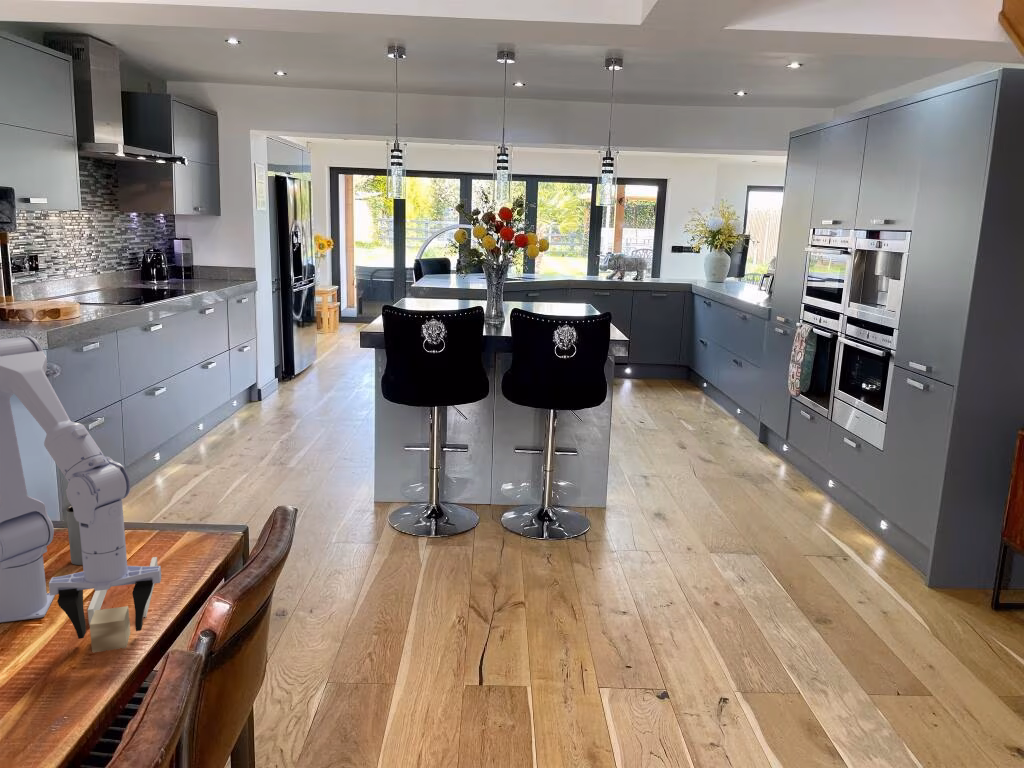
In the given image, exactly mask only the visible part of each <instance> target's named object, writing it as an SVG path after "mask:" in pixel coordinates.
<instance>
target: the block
mask: <svg viewBox="0 0 1024 768" xmlns="http://www.w3.org/2000/svg"><path fill="white" fill-rule="evenodd" d="M130 621H131V620H130V610H129V606H128V605H127V606H120V607H119V606H118V607H111V608H103V609H102V608H100V610H95V612H94V615H93V617H92V620H91V623H90V624H89V631H90V642H91V643H90V644H91V652H93V653H99V652H107V651H114V649H115V650H121V649H120V648H122V649H127V648H126V647H128V643H129V641H130V637H129V636H131V623H130ZM106 650H107V651H106Z"/></svg>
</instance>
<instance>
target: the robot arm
mask: <svg viewBox="0 0 1024 768" xmlns="http://www.w3.org/2000/svg"><path fill="white" fill-rule="evenodd" d="M47 366H48V357H47V356H46V354H45V352H44V349H43V347H42V345H41V344H40V343H39V342H38V340H37V339H36V338H34V337H33V336H31V335H22V336H19V337H12V338H11V337H10V338H4V339H3V338H2V339H0V623H7V622H15V621H22V620H25V621H26V620H30V619H31V620H32V619H39V618H43V617H45V616H46V614H47V613H48V610H49V608H50V607H51V604H52V602H53V601H54V599H55V596H57V595H58V599H57V605H58V606H59V608H61V610H62V611H63V612H64V613H65V614H66V615H67V617H68V618H69V620H70V621H71V624H72V625H73V628H74V629H75V632H76V635H77V639H84V638H85V636H86V632H87V623H86V618H85V611H84V610H85V609H84V590H94V592H95V591H99V590H107V589H108V590H110V589H111V587H119V586H127V585H129V586H130V585H134V587H133V589H132V599H133V604H134V605H133V606H134V613H135V614H134V616H135V617H134V618H135V622H134V623H135V632H140V631H142V629H143V625H144V622H143V621H144V618H143V614H144V608H145V605H146V603H147V600H148V598H149V596H150V593H151V590H152V587H153V584H154V585H155V584H160V583H161V580H162V568H161V565H158V566H150V565H149V566H145V565H143V566H139V565H128V560H127V559H128V558H127V545H126V533H125V522H124V521H125V520H124V508H123V507H124V505H123V500H124V499H125V498H127V497H128V496H129V494H130V491H131V479H130V476H129V474H128V472H127V471H126V469H125V468H126V467H124V465H122V464H121V463H120V462H118V461H114V460H113V459H112V457H111V456H105V454H104V453H103V452H102V450H101V448H100V447H99V446H98V444H97V443H96V441H95V439H94V438H93V437H92V435H91V434H90V433H89V431H88V429H87V428H86V426H85V425H84V424H83V423H80V422H76V421H75V422H74V421H71V419H70V417H69V415H68V413H67V412H66V409H65V407H64V406H63V404H62V402H61V401H60V398H59V397H58V395H57V393H56V391H55V389H54V387H53V386H52V384H51V381H50V380H49V378H48V376H47V374H46V373H47V368H48V367H47ZM13 395H15V396H16V397H17V398H18V400H19V401H20V402H21V404H22V405H23V406H24V407H25V409H26V410H28V412H29V413H30V415H32V417H33V418H34V419H35V421H36V422H37V423H38V425H39V426H40V427H41V428H42V430H44V432H45V433H46V435H45V437H44V442H43V445H44V448H45V449H46V450H47V452H48V454H49V455H50V457H51V458H52V459H53V461H54V463H55V464H56V465H57V467H58V470H60V471H61V473H62V474H63V477H64V478H65V479H66V481H67V482H68V483H67V488H66V489H65V494H66V498H67V500H68V503H70V506H72V508H73V511H74V517H75V518H76V521H78V522H79V528H80V539H81V549H82V561H83V565H82V569H83V571H79V572H74V573H71V574H65V575H60V576H55V577H54V576H52V577H51V578H50V580H49V582H48V590H49V592H48V593H47V583H46V573H45V566H44V565H45V564H44V554H45V553H48V548H47V546H49V545H50V544H51V543H52V541H53V540H54V534H55V529H54V525H53V522H52V520H51V518H50V517H49V515H48V511H47V509H46V504H45V503H44V502H43V501H41V500H39V499H37V498H34V497H32V496H29V495H28V491H27V485H26V480H25V474H24V470H23V465H22V459H21V453H20V448H19V442H18V438H17V431H16V427H15V422H14V416H13V411H12V407H11V397H12V396H13ZM108 590H107V591H108Z"/></svg>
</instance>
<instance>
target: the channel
mask: <svg viewBox="0 0 1024 768" xmlns="http://www.w3.org/2000/svg"><path fill="white" fill-rule="evenodd" d="M149 566H159V565H158V556H153V557H151V560H150V563H149ZM154 587H155V584H153V587H152V590H151V593H150V596H149V598H148V600H147V603H146V605H145V608H144V614H143V617H145V618H147V615H148V611H149V608H150V604H151V599H152V597H153V596H152V595H153V591H154ZM108 590H109V589H107V590H99V591H95V590H94V593H93V596H92V598H91V600H90V602H89V606H88V608H87V617H88V619H87V620H88V625H90V623H91V620H92V617H93V615H94V612H95V610H101V609H102V605H103V602H104V600H105V598H106V594H107V592H108Z"/></svg>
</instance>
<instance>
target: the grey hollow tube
mask: <svg viewBox="0 0 1024 768" xmlns="http://www.w3.org/2000/svg"><path fill="white" fill-rule="evenodd" d="M65 510H66V511H65V513H66V523H67V532H68V543H69V553H70V562H71V564H73V565H77V566H83V561H82V549H81V539H80V528H79V522H78V521H76V518H75V517H74V511H73V508H72V505H70V506H68V507H67V508H66V509H65Z"/></svg>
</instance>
